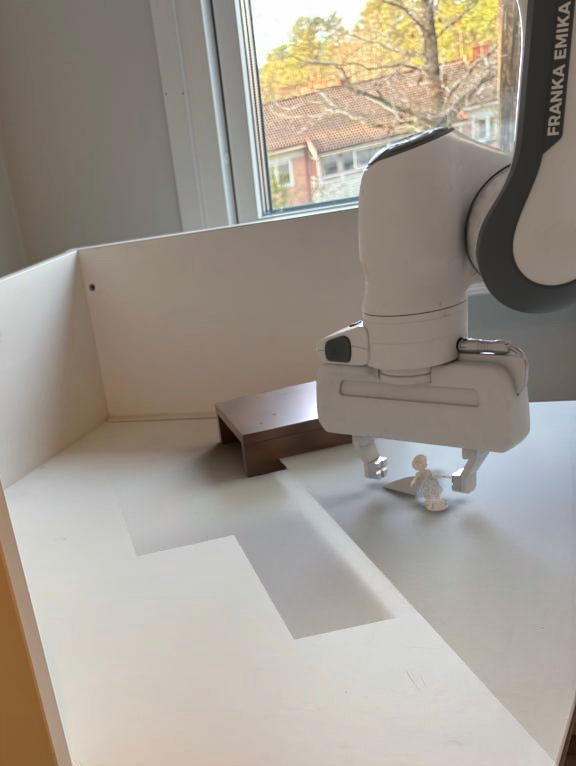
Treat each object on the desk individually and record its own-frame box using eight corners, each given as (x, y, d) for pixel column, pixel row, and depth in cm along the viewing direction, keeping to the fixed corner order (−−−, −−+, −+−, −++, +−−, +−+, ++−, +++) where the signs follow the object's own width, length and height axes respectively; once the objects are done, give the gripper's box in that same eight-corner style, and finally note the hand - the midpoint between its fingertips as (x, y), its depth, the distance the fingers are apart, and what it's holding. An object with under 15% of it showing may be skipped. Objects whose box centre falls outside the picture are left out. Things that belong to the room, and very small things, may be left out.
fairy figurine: (413, 521, 88) (388, 456, 90) (397, 553, 95) (375, 491, 97) (478, 506, 88) (452, 441, 90) (458, 538, 94) (434, 477, 97)
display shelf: (334, 415, 123) (331, 377, 120) (376, 448, 109) (373, 406, 107) (219, 441, 123) (214, 403, 120) (247, 477, 109) (242, 435, 107)
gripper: (547, 330, 79) (541, 487, 86) (342, 325, 94) (350, 459, 101) (507, 351, 76) (504, 513, 83) (301, 343, 91) (312, 480, 97)
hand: (418, 483), depth 92 cm, fingers open, 8 cm apart
